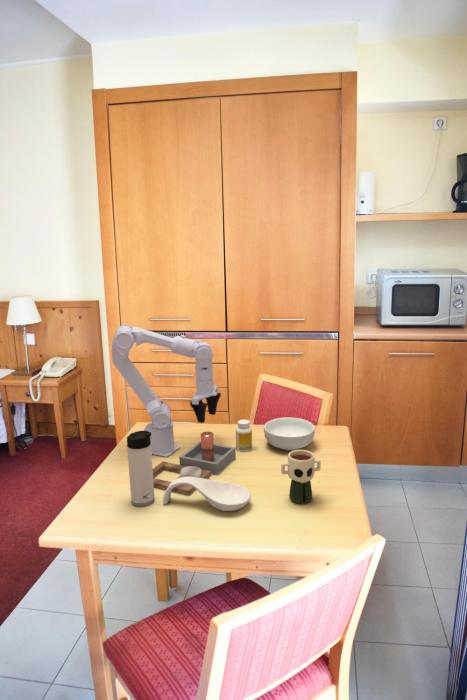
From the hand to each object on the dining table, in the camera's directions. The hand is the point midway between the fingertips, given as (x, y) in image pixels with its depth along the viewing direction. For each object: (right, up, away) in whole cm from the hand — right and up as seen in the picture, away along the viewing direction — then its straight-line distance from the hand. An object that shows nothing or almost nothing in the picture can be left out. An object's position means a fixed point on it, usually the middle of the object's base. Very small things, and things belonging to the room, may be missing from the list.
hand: (206, 418), depth 178 cm
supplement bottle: (+12, -10, +1) cm, 16 cm away
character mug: (+27, -18, -32) cm, 46 cm away
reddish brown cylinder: (+1, -12, -9) cm, 15 cm away
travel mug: (-16, -19, -31) cm, 40 cm away
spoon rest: (+2, -19, -33) cm, 38 cm away
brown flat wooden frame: (-8, -16, -20) cm, 26 cm away
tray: (+1, -13, -9) cm, 16 cm away
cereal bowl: (+28, -10, +2) cm, 29 cm away
